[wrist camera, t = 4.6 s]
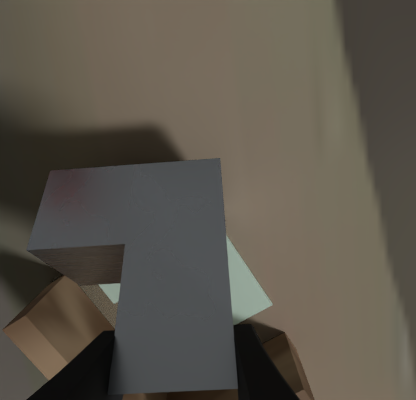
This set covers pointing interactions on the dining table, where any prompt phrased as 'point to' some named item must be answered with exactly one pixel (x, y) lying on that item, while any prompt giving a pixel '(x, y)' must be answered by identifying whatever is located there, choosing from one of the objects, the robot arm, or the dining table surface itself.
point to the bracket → (149, 267)
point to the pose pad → (239, 287)
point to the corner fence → (96, 323)
